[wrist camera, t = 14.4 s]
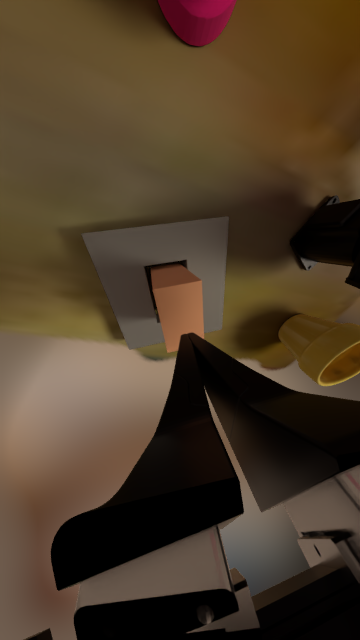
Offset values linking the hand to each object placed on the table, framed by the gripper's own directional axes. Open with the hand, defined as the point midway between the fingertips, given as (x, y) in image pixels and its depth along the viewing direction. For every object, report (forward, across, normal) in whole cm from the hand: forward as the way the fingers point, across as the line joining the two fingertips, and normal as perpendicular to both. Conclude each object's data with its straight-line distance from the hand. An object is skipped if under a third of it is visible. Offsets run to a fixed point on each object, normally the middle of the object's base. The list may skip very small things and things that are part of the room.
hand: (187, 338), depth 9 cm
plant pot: (+11, -24, +13) cm, 30 cm away
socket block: (+11, 0, 0) cm, 11 cm away
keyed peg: (+11, 0, 0) cm, 11 cm away
